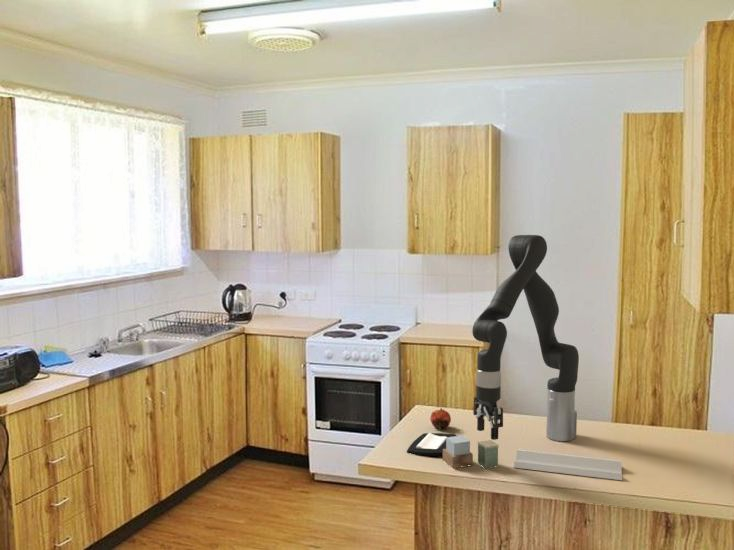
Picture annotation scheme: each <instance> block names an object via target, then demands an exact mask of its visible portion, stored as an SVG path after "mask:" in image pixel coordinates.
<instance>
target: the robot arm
mask: <svg viewBox="0 0 734 550" xmlns="http://www.w3.org/2000/svg"><path fill="white" fill-rule="evenodd" d="M507 249H508V254H509V258H510V260H511V263H512V265H513V267H514V268H515V271H514V272H513V273H512V274H511V275H509V276H508V277H507V278H506V279H505V280H503V282H502V283H501V284H500V285H499V286H498V288H496V291H495V293H494V295H493V296H492V299H491V301H490V302H489V305H488V306H487V307H486V308H485V309H484V310H483V311H482V313H481V314H479V316H478V317H477V319H475V321H474V323H473V326H472V336H473V337H474V339H475V340H476V341H478V342H482V343H487V344H488V343H489V346H488V348H487V349H485V348H484V349H481V350H479V351H478V353H477V362H476V363H477V365H476V366H477V367H476V369H477V371H476V376H475V377H476V379H475V385H476V386H475V396H474V397H473V411H472V413H473V416H475V418H476V420H477V421H476V423H477V425H476V430H477V431H479V432H481V431H482V432H483V431H485V421H486V420H487V422H489V423H490V426H491V427H490V440H491V441H494V440H495V441H496V440H498V439H499V428H503V427H504V408H503V407H498V403H497V402H499V401H500V400H501V398H502V397H501V396H502V395H501V388H502V386H501V385H502V374H501V360H502V359H501V358H502V355H503V349H504V348H505V347H504V346H505V344H506V341H507V337H508V330H507V327H506V324H505V323H503V322H502V321H500V320H505V319H508V318H509V317H510V315H511V314H512V312H513V310H514V308H515V306H516V303H517V301H518V299H519V297H520V296H521V293H522V292H524V294H525V298H526V301H527V305H528V308H529V311H530V315H531V317H532V320H533V323H534V326H535V329H536V330H535V331H536V334H537V338H538V342H539V348H540V350H541V356H542V360H543V363H544V364H545V365H546V366H547V367H549V368H550V369H554V370H559V372H558V377H551V378H549V379H548V380H547V389H546V391H547V393H546V395H547V396H546V398H547V399H546V437H547V438H548V439H550V440H553V441H557V442H569V441H573V440H574V439H576V438H577V423H578V420H577V419H578V411H577V410H575V407H576V406H575V405H576V404H575V402H576V401H575V400H576V394H575V393H576V386H577V385H576V384H577V382H578V375H579V374H578V373H579V360H580V357H579V350H578V349H577V347H576V346H575V345H571V344H567V343H562V342H559V341H558V339H557V336H556V334H555V325H556V323H557V320H558V317H559V313H560V309H559V308H560V307H559V305H558V300H557V298H556V297H557V296H556V294H555V291H553V289H552V288H551V286H550V285H549V284H548V283H547V282H546V281H545V280H544V279H543V278H542V276H540V275H539V273H538V271H537V270H538V268H539V267H540V266H541V265H542V263H543V262H544V260H545V257H546V255H547V252H548V243H547V241H546V239H545V238H544V237H543V236H541V235H539V234H518V235H514V236H512V237H510V240H509V242H508V248H507ZM485 417H486V420H485Z"/></svg>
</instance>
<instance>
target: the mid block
mask: <svg viewBox="0 0 734 550" xmlns="http://www.w3.org/2000/svg"><path fill="white" fill-rule="evenodd" d="M446 450H447V451H448V452H450V453H451V454H452V455H454V456H457V455H463V454H470V452H471V440H469V439H468V438H467V437H465V436H463V435H457V436H454V437H447V438H446Z"/></svg>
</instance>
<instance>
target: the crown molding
mask: <svg viewBox="0 0 734 550" xmlns="http://www.w3.org/2000/svg"><path fill="white" fill-rule="evenodd" d="M513 468H515V469H522V470H523V469H524V470H530V471H532V470H533V471H536V472H537V471H539V472H547V473H556V474H565V475H573V476H582V477H588V478H589V477H591V478H599V479H604V480H605V479H606V480H615V481H623V473H622V460H619V459H610V458H603V457H592V456H583V455H574V454H573V455H572V454H565V453H554V452H547V451H539V450H536V451H535V450H528V449H516V455H515V461H514V465H513Z"/></svg>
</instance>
